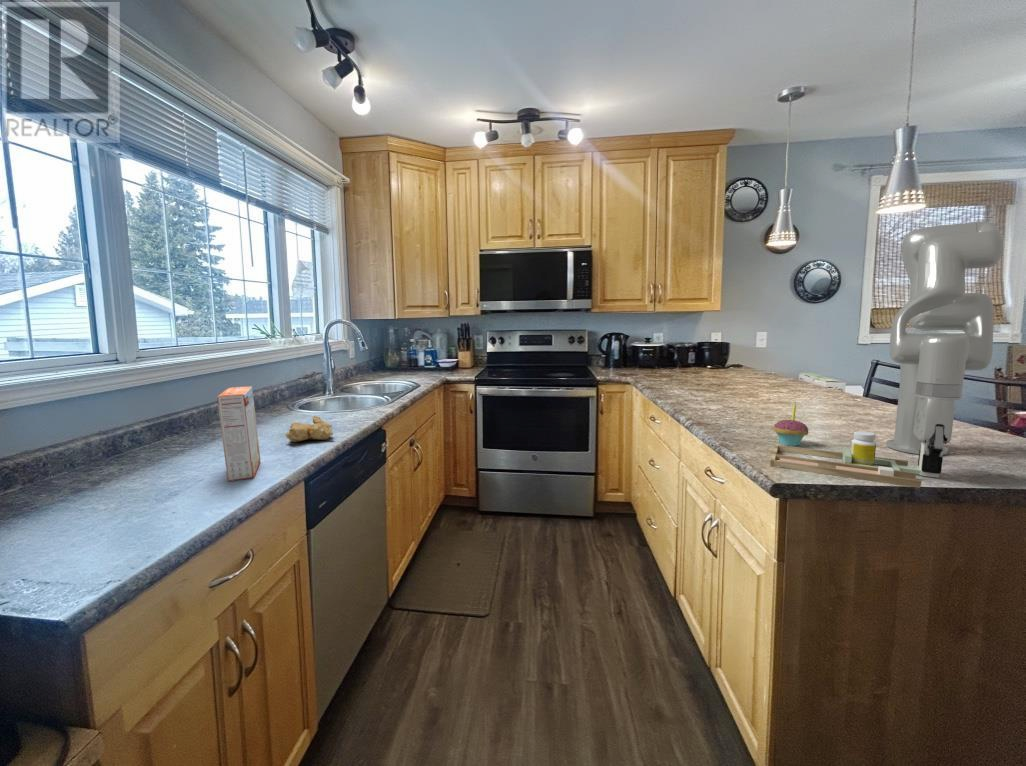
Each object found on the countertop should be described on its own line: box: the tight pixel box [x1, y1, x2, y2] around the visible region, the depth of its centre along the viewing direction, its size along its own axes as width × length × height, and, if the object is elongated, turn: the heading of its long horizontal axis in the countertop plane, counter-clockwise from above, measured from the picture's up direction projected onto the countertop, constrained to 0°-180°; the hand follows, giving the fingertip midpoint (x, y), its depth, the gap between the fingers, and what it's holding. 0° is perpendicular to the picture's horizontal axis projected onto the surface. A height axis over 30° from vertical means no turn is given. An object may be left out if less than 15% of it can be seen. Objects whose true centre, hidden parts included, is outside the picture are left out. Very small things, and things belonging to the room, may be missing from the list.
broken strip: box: [780, 458, 894, 476], centre depth 105 cm, size 4×22×2 cm, turn 56°
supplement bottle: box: [850, 430, 877, 466], centre depth 108 cm, size 5×5×8 cm
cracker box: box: [216, 386, 261, 482], centre depth 111 cm, size 14×6×21 cm, turn 23°
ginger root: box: [285, 415, 334, 443], centre depth 142 cm, size 16×16×8 cm
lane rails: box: [769, 444, 922, 489], centre depth 109 cm, size 16×28×2 cm, turn 56°
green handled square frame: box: [841, 442, 940, 478], centre depth 105 cm, size 9×17×7 cm, turn 56°
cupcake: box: [773, 402, 809, 447], centre depth 128 cm, size 9×8×12 cm
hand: (928, 469), depth 102 cm, fingers closed on green handled square frame, 3 cm apart
